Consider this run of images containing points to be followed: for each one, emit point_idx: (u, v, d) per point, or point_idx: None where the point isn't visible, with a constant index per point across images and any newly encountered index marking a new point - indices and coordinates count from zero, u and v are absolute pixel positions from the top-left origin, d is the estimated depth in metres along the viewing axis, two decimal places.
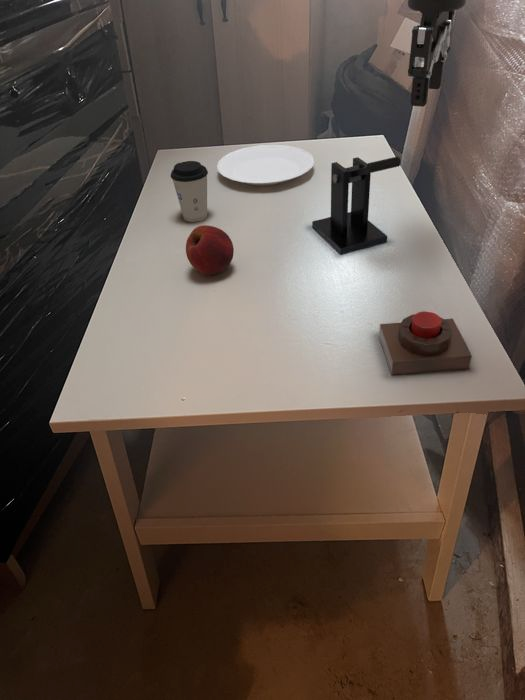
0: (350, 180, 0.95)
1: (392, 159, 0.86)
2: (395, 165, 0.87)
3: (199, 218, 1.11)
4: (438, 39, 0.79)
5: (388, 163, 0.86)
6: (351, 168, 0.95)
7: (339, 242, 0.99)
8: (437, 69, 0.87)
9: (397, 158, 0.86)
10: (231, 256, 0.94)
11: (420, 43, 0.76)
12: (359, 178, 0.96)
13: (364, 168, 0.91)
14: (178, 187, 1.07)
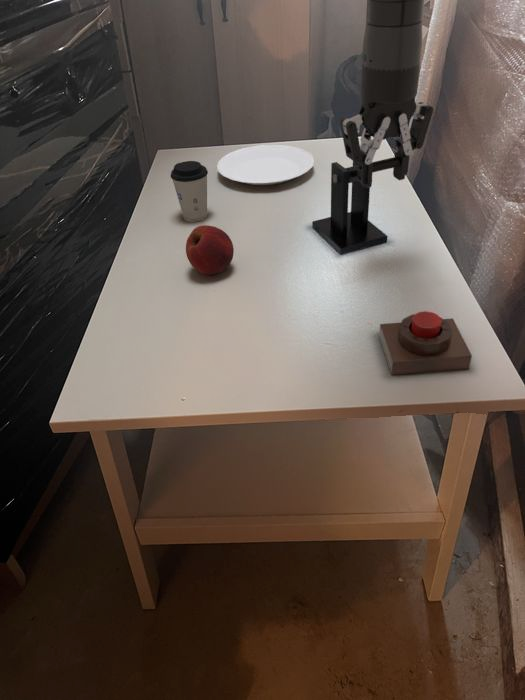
0: (350, 180, 0.95)
1: (392, 159, 0.86)
2: (395, 165, 0.87)
3: (199, 218, 1.11)
4: (377, 129, 0.81)
5: (388, 163, 0.86)
6: (351, 168, 0.95)
7: (339, 242, 0.99)
8: None
9: (397, 158, 0.86)
10: (231, 256, 0.94)
11: (346, 134, 0.81)
12: None
13: None
14: (178, 187, 1.07)
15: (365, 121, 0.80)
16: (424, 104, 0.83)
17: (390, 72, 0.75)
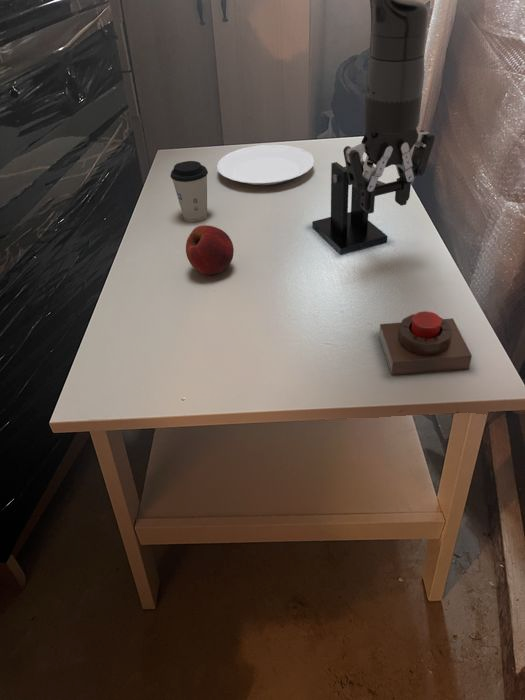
0: None
1: (395, 184, 0.87)
2: (397, 190, 0.88)
3: (199, 218, 1.11)
4: (379, 158, 0.83)
5: (390, 189, 0.87)
6: None
7: (339, 242, 0.99)
8: None
9: (400, 183, 0.88)
10: (231, 256, 0.94)
11: (349, 162, 0.83)
12: None
13: None
14: (178, 187, 1.07)
15: (368, 150, 0.82)
16: (426, 132, 0.85)
17: (393, 104, 0.76)
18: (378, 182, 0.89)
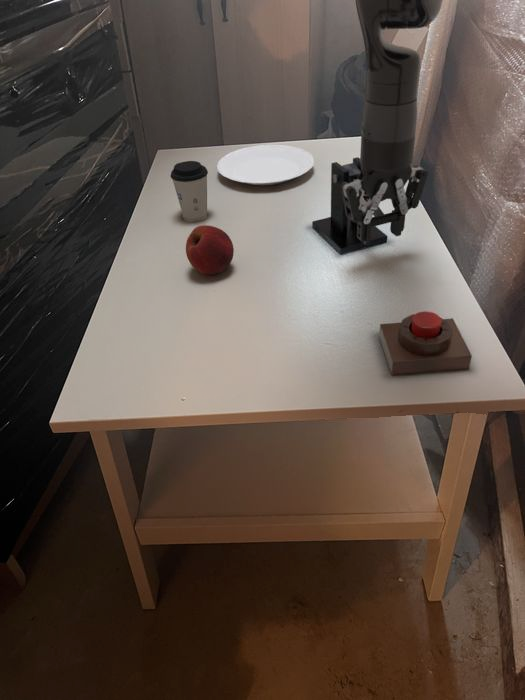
0: None
1: (391, 218, 0.91)
2: (392, 221, 0.92)
3: (199, 218, 1.11)
4: (375, 193, 0.87)
5: (386, 222, 0.91)
6: (353, 176, 0.95)
7: (339, 242, 0.99)
8: None
9: (396, 217, 0.91)
10: (231, 256, 0.94)
11: (346, 197, 0.87)
12: None
13: None
14: (178, 187, 1.07)
15: (364, 186, 0.86)
16: (419, 168, 0.89)
17: (387, 144, 0.80)
18: None
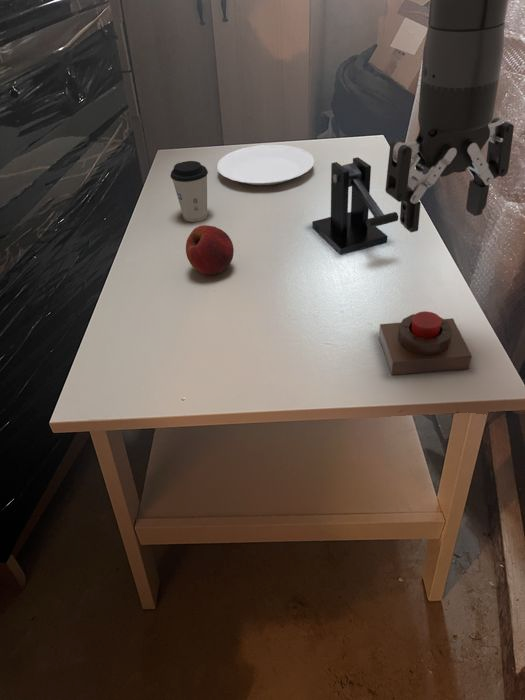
0: None
1: (391, 218, 0.91)
2: None
3: (199, 218, 1.11)
4: (436, 161, 0.62)
5: (386, 222, 0.91)
6: (353, 176, 0.95)
7: (339, 242, 0.99)
8: (476, 192, 0.68)
9: (396, 217, 0.91)
10: (231, 256, 0.94)
11: (395, 161, 0.62)
12: None
13: (364, 198, 0.93)
14: (178, 187, 1.07)
15: (423, 153, 0.62)
16: (500, 122, 0.64)
17: (460, 91, 0.56)
18: (376, 208, 0.92)
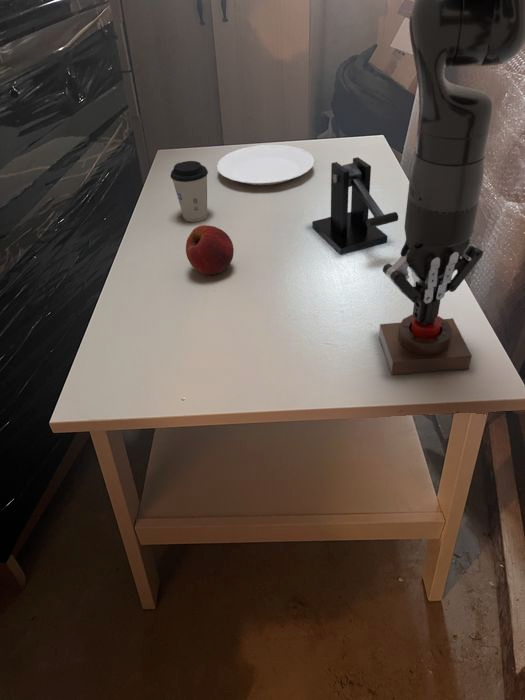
0: None
1: (391, 218, 0.91)
2: None
3: (199, 218, 1.11)
4: (427, 271, 0.68)
5: (386, 222, 0.91)
6: (353, 176, 0.95)
7: (339, 242, 0.99)
8: None
9: (396, 217, 0.91)
10: (231, 256, 0.94)
11: None
12: None
13: (364, 198, 0.93)
14: (178, 187, 1.07)
15: (410, 262, 0.67)
16: (474, 245, 0.70)
17: (445, 214, 0.61)
18: (376, 208, 0.92)
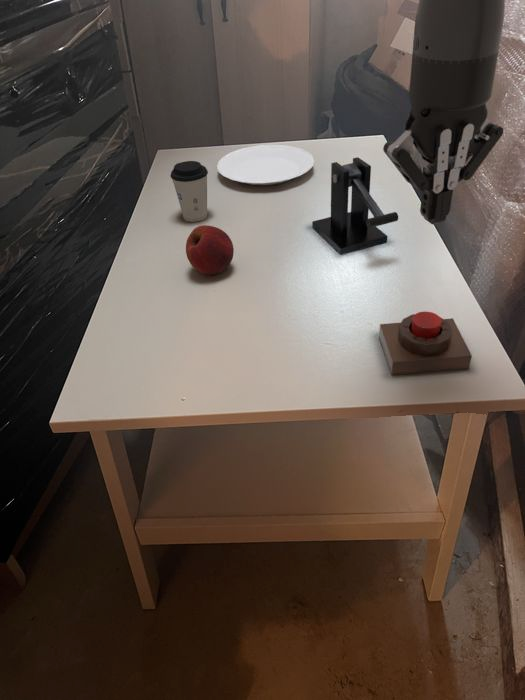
0: None
1: (391, 218, 0.91)
2: None
3: (199, 218, 1.11)
4: (436, 149, 0.57)
5: (386, 222, 0.91)
6: (353, 176, 0.95)
7: (339, 242, 0.99)
8: None
9: (396, 217, 0.91)
10: (231, 256, 0.94)
11: None
12: None
13: (364, 198, 0.93)
14: (178, 187, 1.07)
15: (415, 135, 0.56)
16: (492, 123, 0.59)
17: (456, 64, 0.51)
18: (376, 208, 0.92)
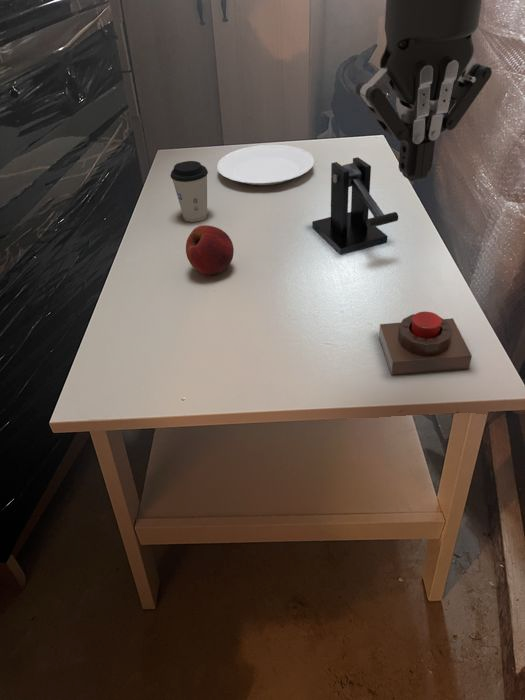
0: None
1: (391, 218, 0.91)
2: None
3: (199, 218, 1.11)
4: (416, 90, 0.50)
5: (386, 222, 0.91)
6: (353, 176, 0.95)
7: (339, 242, 0.99)
8: None
9: (396, 217, 0.91)
10: (231, 256, 0.94)
11: (372, 106, 0.51)
12: None
13: (364, 198, 0.93)
14: (178, 187, 1.07)
15: (392, 73, 0.49)
16: (479, 64, 0.52)
17: None
18: (376, 208, 0.92)
